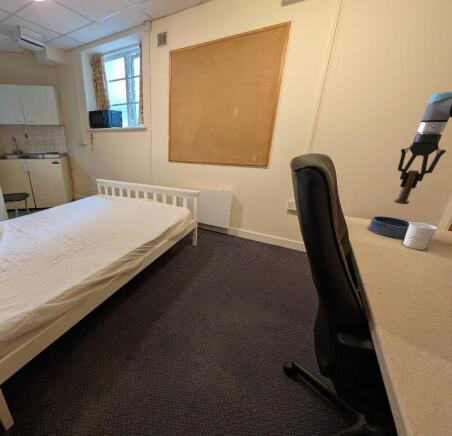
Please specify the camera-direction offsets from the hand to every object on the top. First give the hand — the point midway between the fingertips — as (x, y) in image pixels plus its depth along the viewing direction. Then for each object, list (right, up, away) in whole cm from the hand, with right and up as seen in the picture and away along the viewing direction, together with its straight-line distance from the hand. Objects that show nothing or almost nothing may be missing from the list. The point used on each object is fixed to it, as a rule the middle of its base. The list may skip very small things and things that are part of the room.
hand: (407, 187), depth 102 cm
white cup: (-2, -27, -5) cm, 28 cm away
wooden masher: (0, -7, +3) cm, 8 cm away
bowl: (+1, -22, +9) cm, 24 cm away
